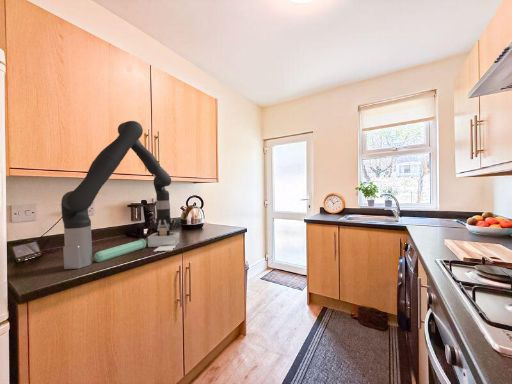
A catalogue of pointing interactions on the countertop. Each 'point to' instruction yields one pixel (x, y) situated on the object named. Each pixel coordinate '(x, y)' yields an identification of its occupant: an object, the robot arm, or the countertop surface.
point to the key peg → (162, 230)
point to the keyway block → (163, 240)
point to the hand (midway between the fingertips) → (164, 236)
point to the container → (119, 250)
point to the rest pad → (164, 248)
